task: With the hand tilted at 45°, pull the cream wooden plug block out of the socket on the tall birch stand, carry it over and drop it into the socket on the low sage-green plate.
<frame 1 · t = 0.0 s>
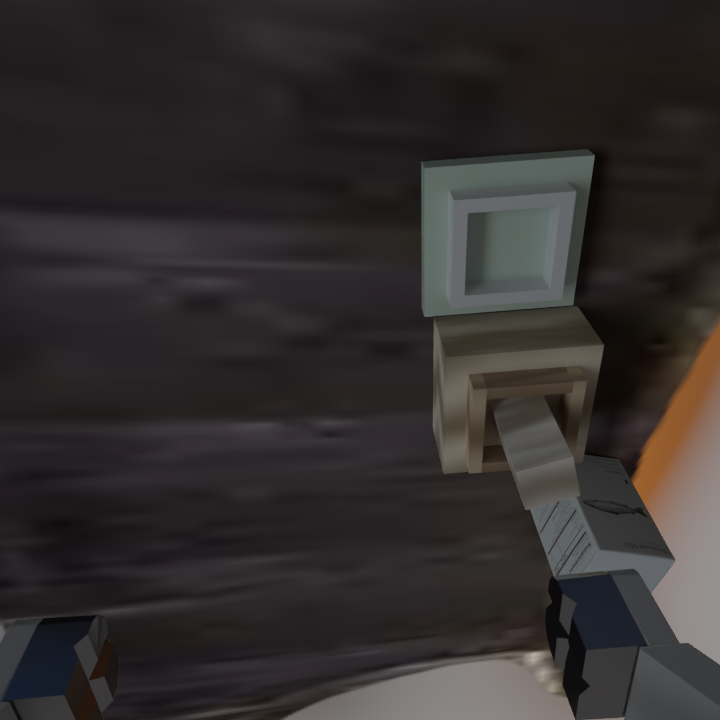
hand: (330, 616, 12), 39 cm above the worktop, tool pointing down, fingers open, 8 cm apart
sage socket plate: (499, 233, 50), on the worktop
supplement box: (570, 476, 65), on the worktop
cream plug block: (518, 413, 52), point 6 cm above the worktop, touching birch stand
birch stand: (501, 370, 57), on the worktop
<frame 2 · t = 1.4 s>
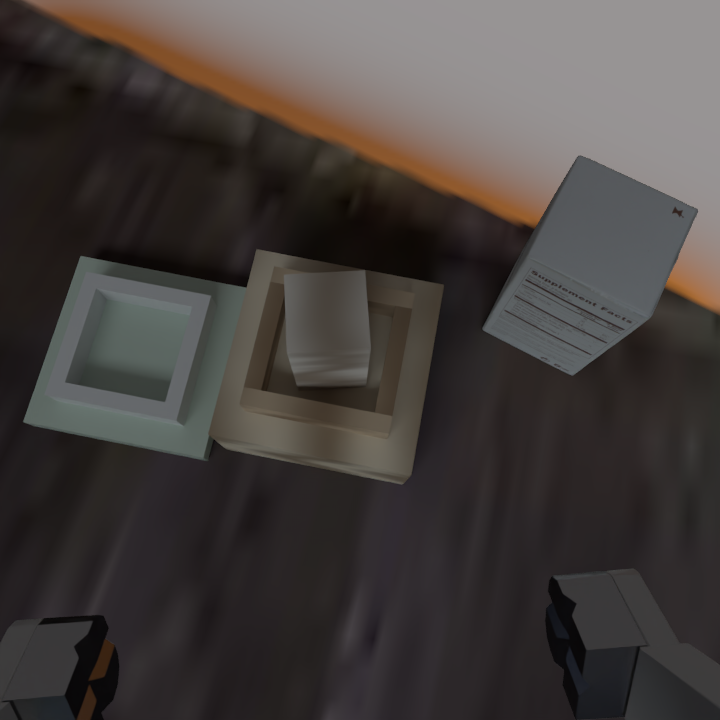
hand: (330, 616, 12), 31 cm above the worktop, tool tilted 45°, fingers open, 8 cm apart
sage socket plate: (145, 358, 45), on the worktop
supplement box: (544, 313, 47), on the worktop
cream plug block: (330, 356, 39), point 6 cm above the worktop, touching birch stand
birch stand: (332, 381, 45), on the worktop
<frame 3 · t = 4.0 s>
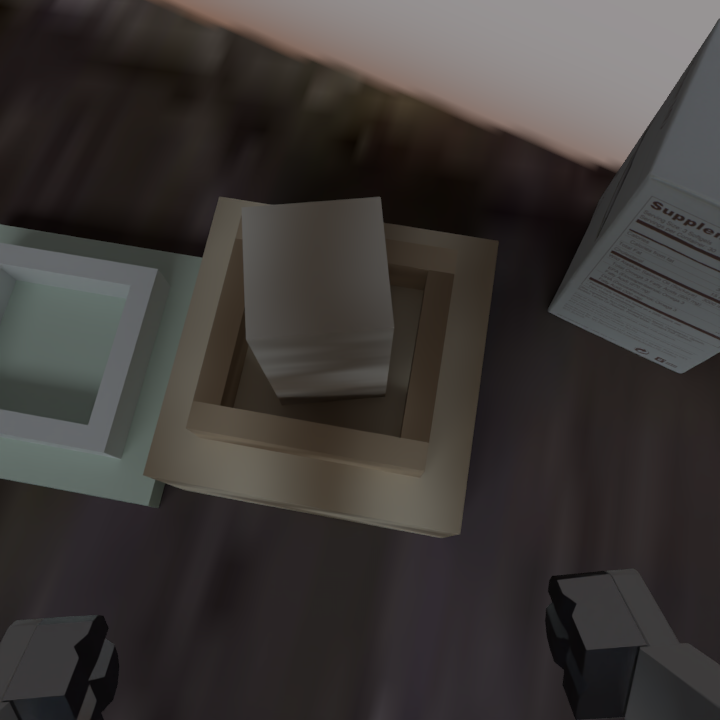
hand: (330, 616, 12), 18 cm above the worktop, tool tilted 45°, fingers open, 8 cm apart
sage socket plate: (73, 363, 32), on the worktop
supplement box: (635, 287, 33), on the worktop
cream plug block: (330, 351, 26), point 6 cm above the worktop, touching birch stand
birch stand: (336, 388, 31), on the worktop
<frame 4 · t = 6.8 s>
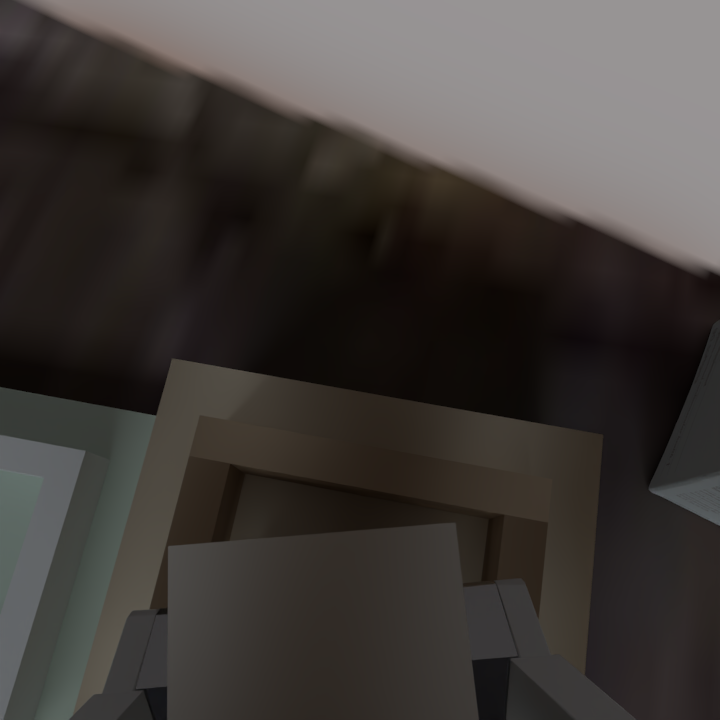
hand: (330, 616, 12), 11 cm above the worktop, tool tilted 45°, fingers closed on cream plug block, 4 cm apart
cream plug block: (342, 627, 16), point 6 cm above the worktop, touching birch stand, gripper
birch stand: (348, 608, 22), on the worktop
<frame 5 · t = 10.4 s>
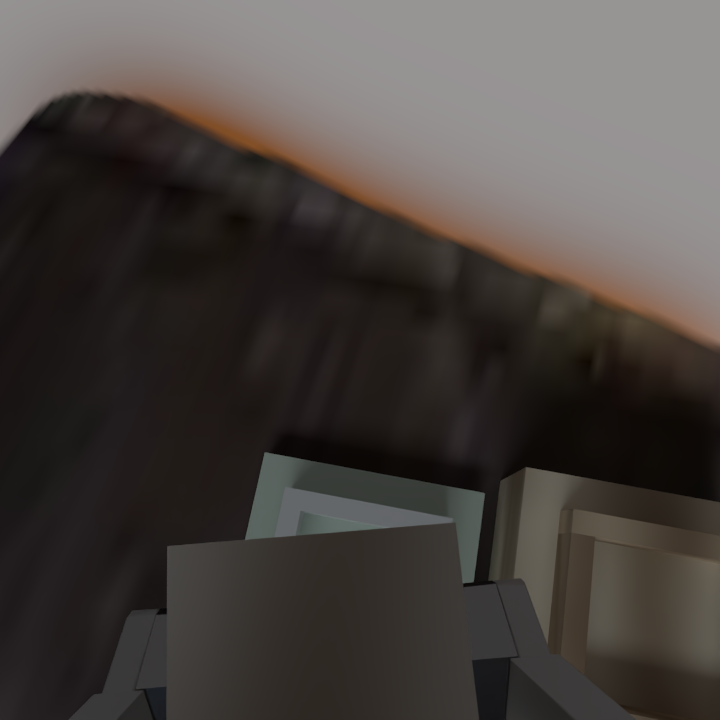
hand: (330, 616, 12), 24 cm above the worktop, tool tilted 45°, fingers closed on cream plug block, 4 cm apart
sage socket plate: (353, 587, 34), on the worktop
cream plug block: (342, 627, 16), point 19 cm above the worktop, touching gripper
birch stand: (600, 615, 34), on the worktop
when the fingers open (8 cm above the worktop, at t = 14.4 s): cream plug block drops 1 cm, resting on sage socket plate.
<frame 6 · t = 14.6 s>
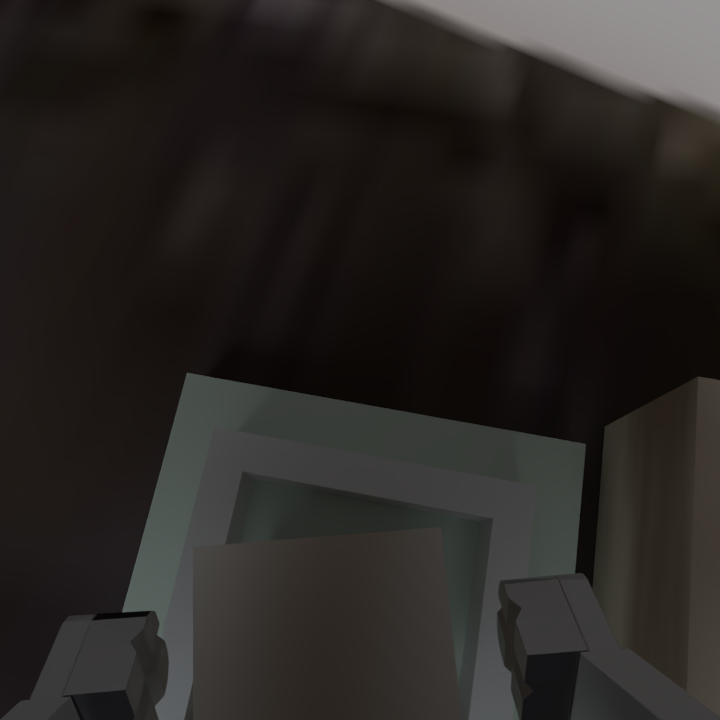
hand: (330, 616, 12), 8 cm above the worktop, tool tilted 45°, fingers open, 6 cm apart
sage socket plate: (346, 616, 19), on the worktop
cream plug block: (342, 621, 17), point 1 cm above the worktop, touching sage socket plate
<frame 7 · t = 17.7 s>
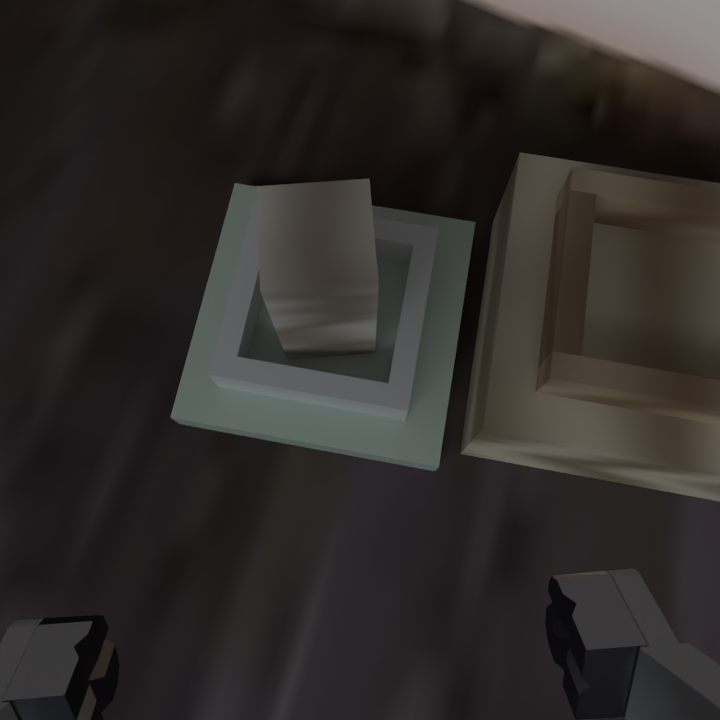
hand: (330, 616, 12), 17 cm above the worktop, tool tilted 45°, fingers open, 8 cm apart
sage socket plate: (331, 326, 31), on the worktop
cream plug block: (328, 315, 30), point 1 cm above the worktop, touching sage socket plate
birch stand: (601, 353, 31), on the worktop
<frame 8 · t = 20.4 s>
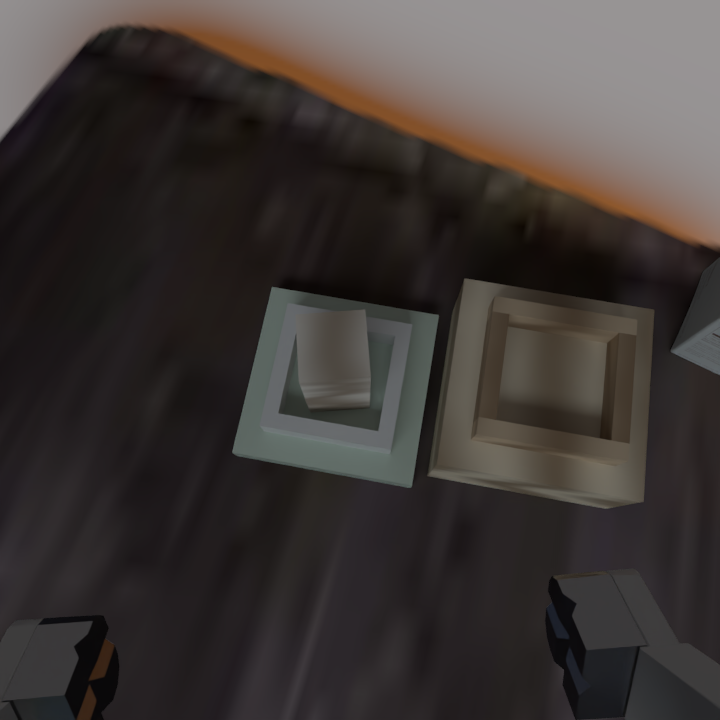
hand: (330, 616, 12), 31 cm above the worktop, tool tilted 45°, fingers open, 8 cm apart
sage socket plate: (339, 387, 45), on the worktop
cream plug block: (337, 381, 44), point 1 cm above the worktop, touching sage socket plate
birch stand: (525, 405, 45), on the worktop
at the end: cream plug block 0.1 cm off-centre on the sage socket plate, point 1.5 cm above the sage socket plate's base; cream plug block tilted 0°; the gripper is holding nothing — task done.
